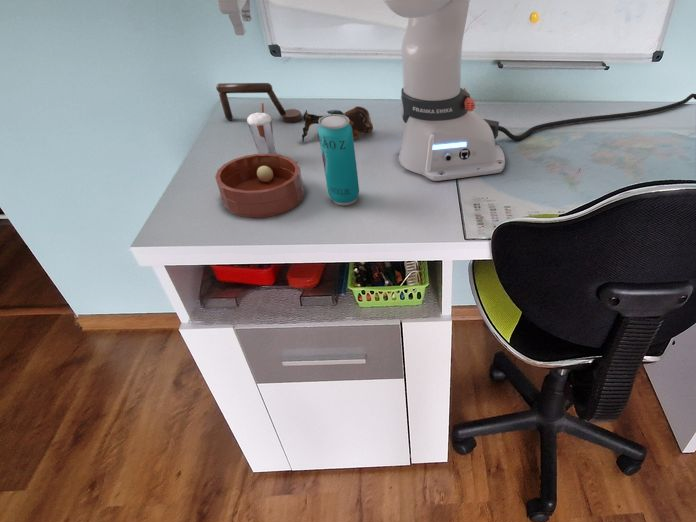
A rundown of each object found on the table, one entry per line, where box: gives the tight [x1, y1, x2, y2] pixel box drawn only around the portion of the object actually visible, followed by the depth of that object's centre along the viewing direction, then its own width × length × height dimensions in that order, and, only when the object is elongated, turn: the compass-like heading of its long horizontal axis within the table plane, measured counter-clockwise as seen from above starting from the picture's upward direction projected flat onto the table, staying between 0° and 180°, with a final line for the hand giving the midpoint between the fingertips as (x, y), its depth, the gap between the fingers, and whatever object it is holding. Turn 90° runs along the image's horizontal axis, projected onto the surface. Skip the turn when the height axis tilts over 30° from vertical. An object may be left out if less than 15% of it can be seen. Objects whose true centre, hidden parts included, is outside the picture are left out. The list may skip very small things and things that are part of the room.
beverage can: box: [317, 114, 360, 207], centre depth 96 cm, size 6×6×15 cm
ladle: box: [215, 82, 303, 124], centre depth 122 cm, size 17×4×8 cm, turn 98°
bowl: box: [214, 153, 305, 219], centre depth 100 cm, size 15×15×5 cm
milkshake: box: [246, 102, 277, 154], centre depth 109 cm, size 4×5×10 cm
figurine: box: [301, 106, 374, 143], centre depth 119 cm, size 8×16×6 cm, turn 98°
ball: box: [257, 166, 273, 182], centre depth 103 cm, size 3×3×3 cm
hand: (244, 27), depth 111 cm, fingers open, 8 cm apart
